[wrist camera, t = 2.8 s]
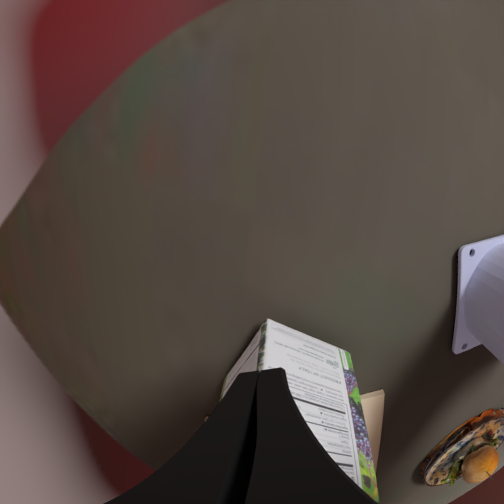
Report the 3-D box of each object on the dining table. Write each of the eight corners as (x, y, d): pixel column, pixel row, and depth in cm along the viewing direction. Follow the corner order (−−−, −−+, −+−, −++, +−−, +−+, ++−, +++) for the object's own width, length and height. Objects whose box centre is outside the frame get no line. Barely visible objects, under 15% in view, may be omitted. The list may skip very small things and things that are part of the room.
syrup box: (299, 403, 18) (299, 602, 5) (220, 374, 18) (172, 594, 4) (350, 349, 16) (395, 593, 3) (262, 312, 16) (230, 617, 2)
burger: (407, 486, 22) (421, 532, 14) (437, 427, 19) (466, 483, 12) (483, 456, 21) (503, 492, 13) (519, 391, 18) (552, 430, 11)
